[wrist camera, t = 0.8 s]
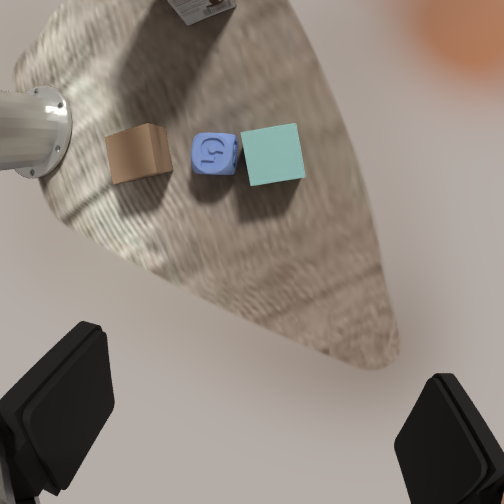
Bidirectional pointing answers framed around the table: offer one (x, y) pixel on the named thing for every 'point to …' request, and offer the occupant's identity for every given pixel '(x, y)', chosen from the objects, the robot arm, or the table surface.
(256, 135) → the teal block
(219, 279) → the table surface
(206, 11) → the coffee box
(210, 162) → the decorative dice
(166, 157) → the walnut block
